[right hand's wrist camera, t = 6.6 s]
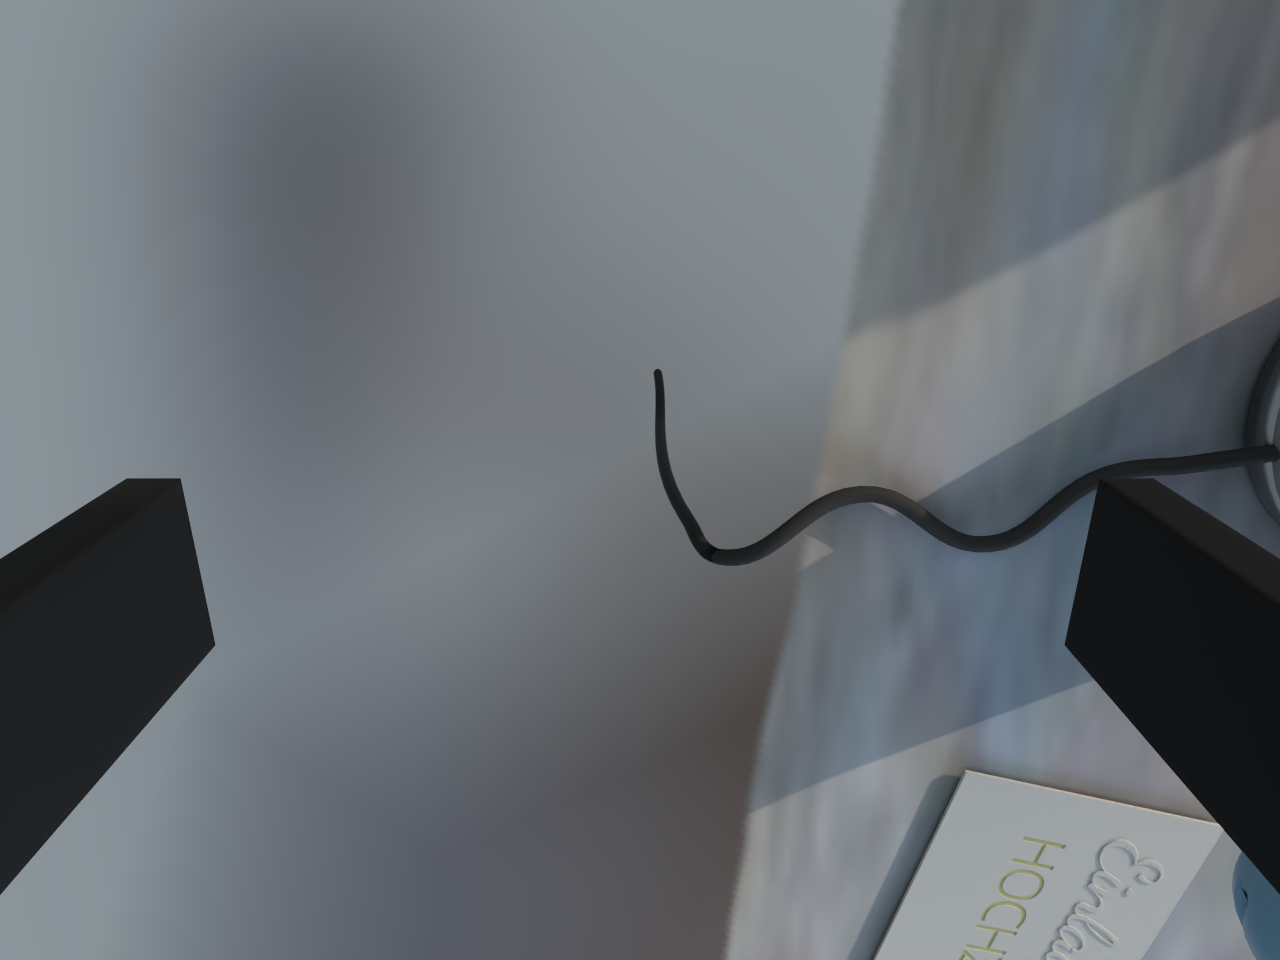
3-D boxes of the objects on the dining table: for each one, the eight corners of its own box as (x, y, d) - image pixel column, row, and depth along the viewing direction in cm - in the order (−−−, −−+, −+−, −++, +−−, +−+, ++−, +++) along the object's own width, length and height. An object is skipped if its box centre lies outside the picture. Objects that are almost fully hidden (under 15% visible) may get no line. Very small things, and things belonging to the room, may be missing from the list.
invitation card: (967, 773, 44) (1226, 828, 46) (965, 769, 45) (1223, 824, 46) (834, 1045, 52) (1060, 1086, 53) (833, 1041, 52) (1058, 1081, 54)
